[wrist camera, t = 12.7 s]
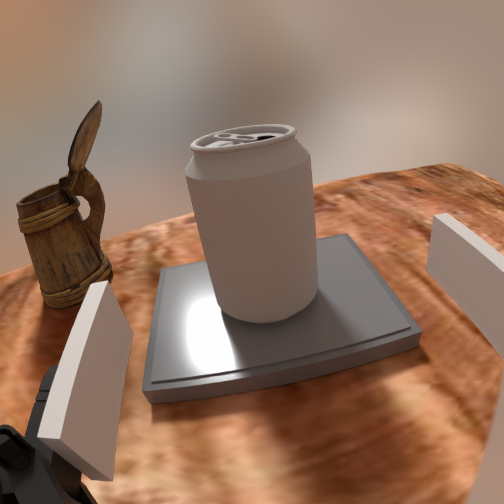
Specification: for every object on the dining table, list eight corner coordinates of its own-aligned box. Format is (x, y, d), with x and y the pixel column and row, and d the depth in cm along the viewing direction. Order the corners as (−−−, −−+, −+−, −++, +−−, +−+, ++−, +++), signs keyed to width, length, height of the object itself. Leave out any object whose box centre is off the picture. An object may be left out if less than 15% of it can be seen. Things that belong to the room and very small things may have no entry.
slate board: (150, 404, 18) (141, 389, 18) (165, 281, 30) (160, 267, 30) (417, 346, 19) (422, 329, 18) (347, 246, 31) (347, 231, 30)
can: (314, 334, 20) (302, 139, 14) (204, 328, 22) (154, 156, 16) (320, 267, 26) (310, 116, 20) (232, 267, 28) (204, 127, 22)
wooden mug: (145, 292, 29) (85, 102, 20) (35, 314, 28) (-34, 157, 19) (152, 247, 37) (112, 97, 28) (58, 270, 36) (9, 138, 27)
